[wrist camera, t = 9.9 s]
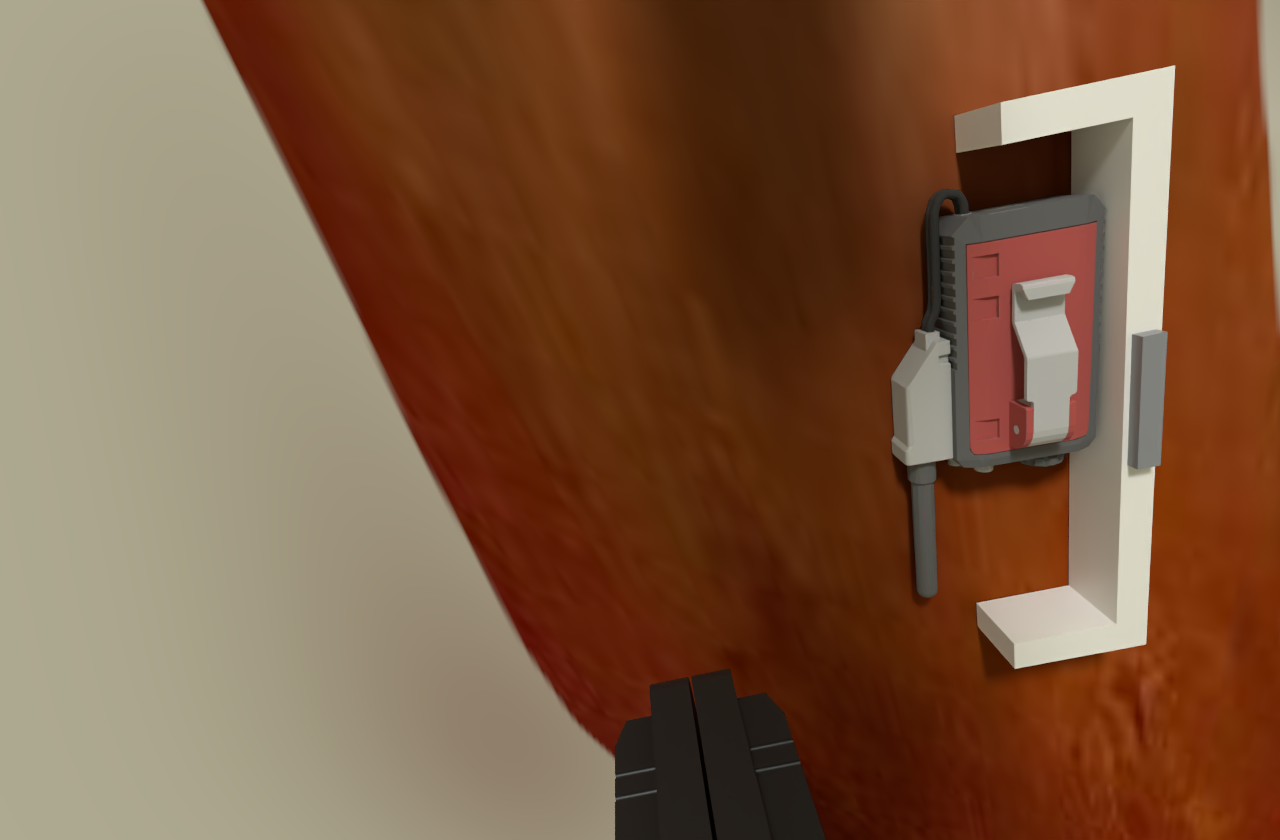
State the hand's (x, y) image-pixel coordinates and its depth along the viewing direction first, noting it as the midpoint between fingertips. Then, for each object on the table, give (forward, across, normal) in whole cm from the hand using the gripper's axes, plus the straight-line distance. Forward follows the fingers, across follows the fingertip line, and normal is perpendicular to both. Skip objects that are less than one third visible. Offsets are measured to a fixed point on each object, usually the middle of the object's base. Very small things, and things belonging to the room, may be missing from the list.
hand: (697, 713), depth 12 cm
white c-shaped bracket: (+20, -18, +4) cm, 27 cm away
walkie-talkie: (+21, -16, +4) cm, 26 cm away
